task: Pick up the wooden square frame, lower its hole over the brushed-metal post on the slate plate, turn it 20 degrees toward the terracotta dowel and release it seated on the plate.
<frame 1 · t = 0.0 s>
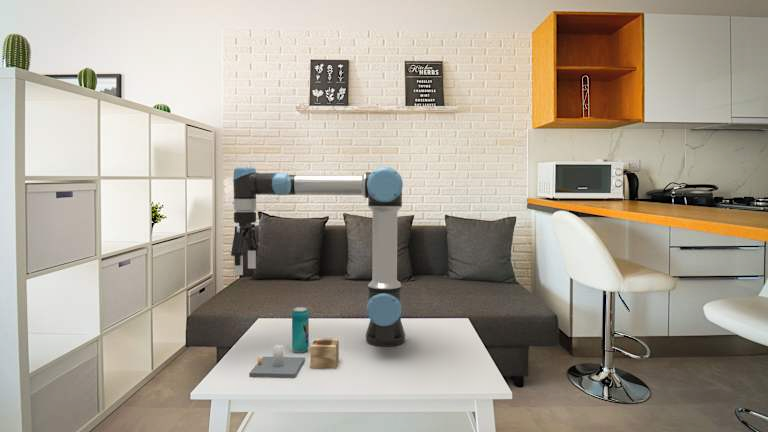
hand: (245, 271, 160), 28 cm above the table, fingers open, 13 cm apart
wooden square frame: (324, 363, 148), on the table
beverage can: (300, 351, 160), on the table
post base: (278, 368, 144), on the table
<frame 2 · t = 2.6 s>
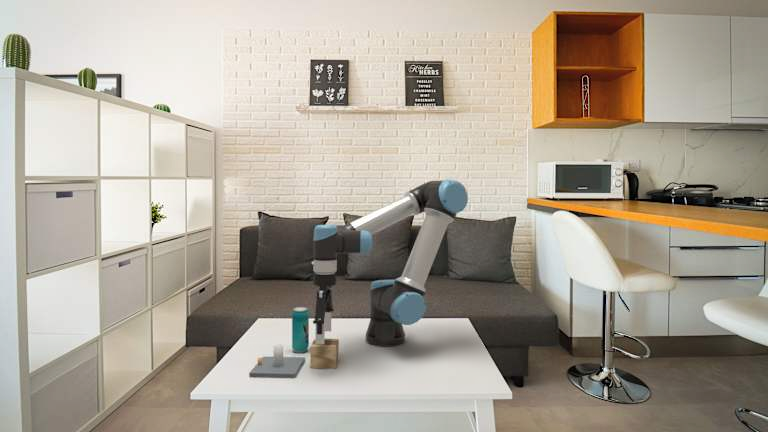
hand: (323, 337, 148), 9 cm above the table, fingers open, 13 cm apart
nothing on the table moved.
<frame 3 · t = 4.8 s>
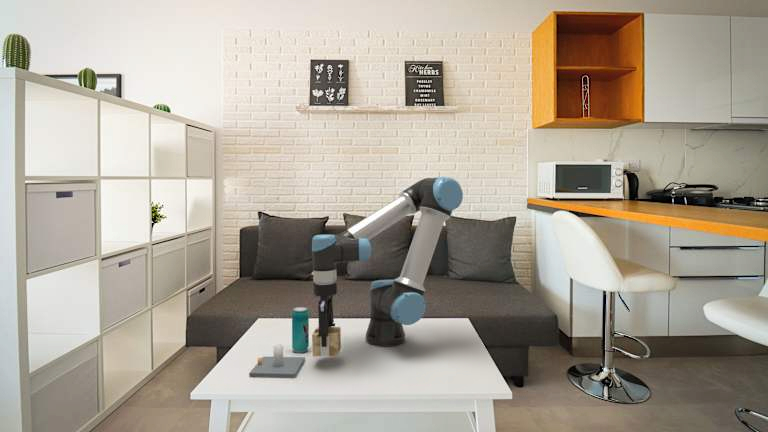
hand: (327, 350, 148), 4 cm above the table, fingers closed on wooden square frame, 8 cm apart
wooden square frame: (327, 351, 148), point 4 cm above the table, touching gripper
everything else where it was.
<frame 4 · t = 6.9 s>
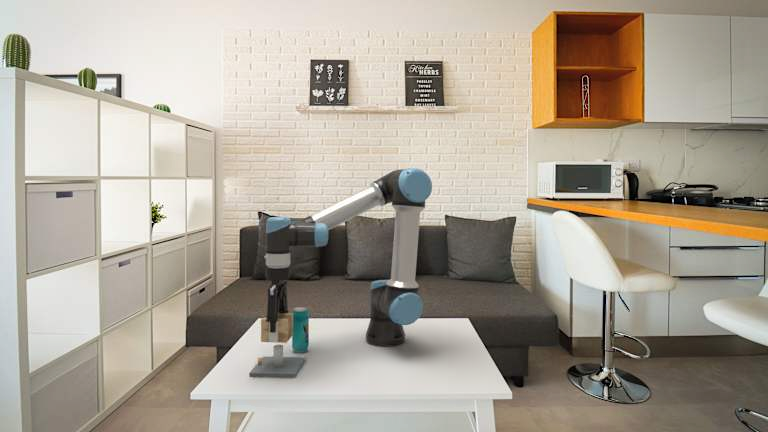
hand: (277, 337, 143), 10 cm above the table, fingers closed on wooden square frame, 8 cm apart
wooden square frame: (277, 338, 143), point 10 cm above the table, touching gripper
everything else where it was.
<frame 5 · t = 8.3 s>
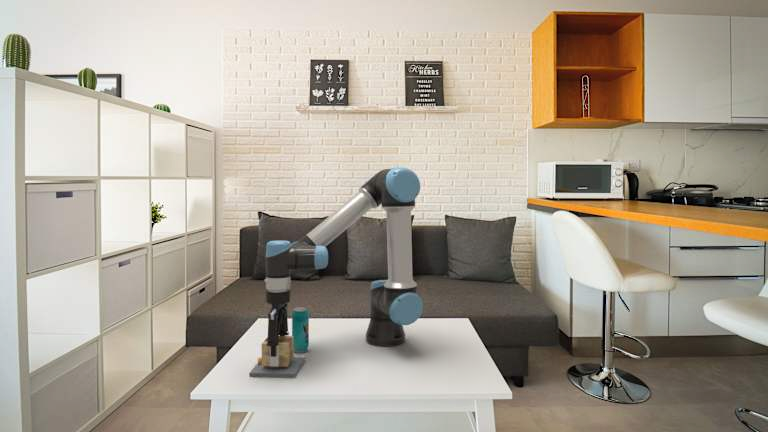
hand: (278, 360, 144), 3 cm above the table, fingers closed on wooden square frame, 8 cm apart
wooden square frame: (277, 361, 144), point 2 cm above the table, touching gripper
everything else where it was.
when the fingers open (2 cm above the table, at t = 9.2 s): wooden square frame stays where it is, resting on post base.
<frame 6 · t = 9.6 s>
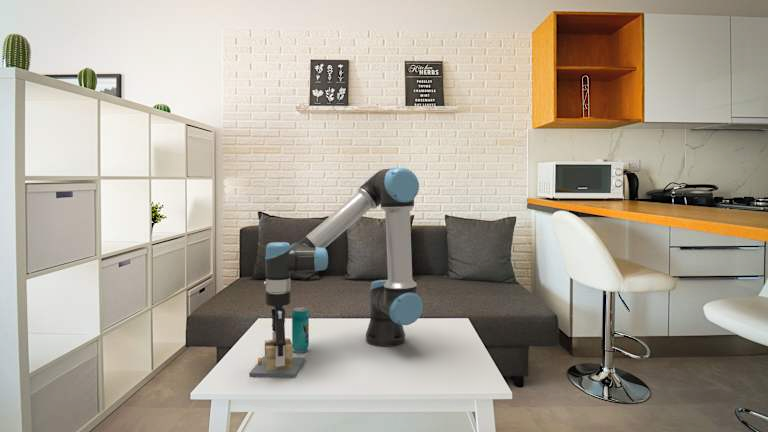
hand: (278, 358, 144), 3 cm above the table, fingers open, 13 cm apart
wooden square frame: (278, 364, 144), point 1 cm above the table, touching post base
everything else where it was.
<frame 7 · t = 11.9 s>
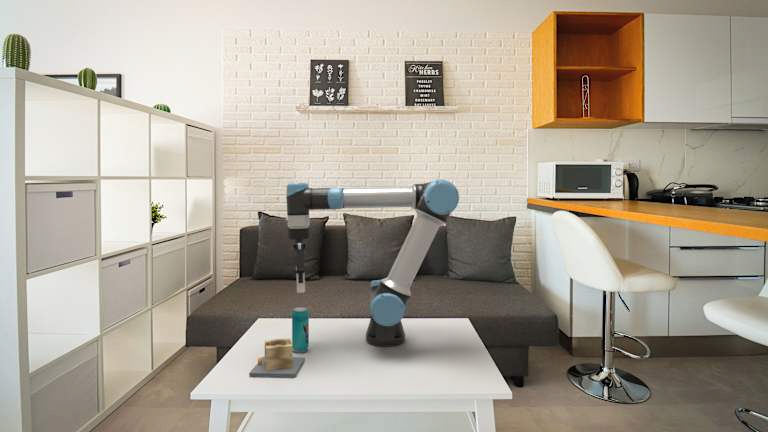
hand: (300, 288, 157), 23 cm above the table, fingers open, 13 cm apart
nothing on the table moved.
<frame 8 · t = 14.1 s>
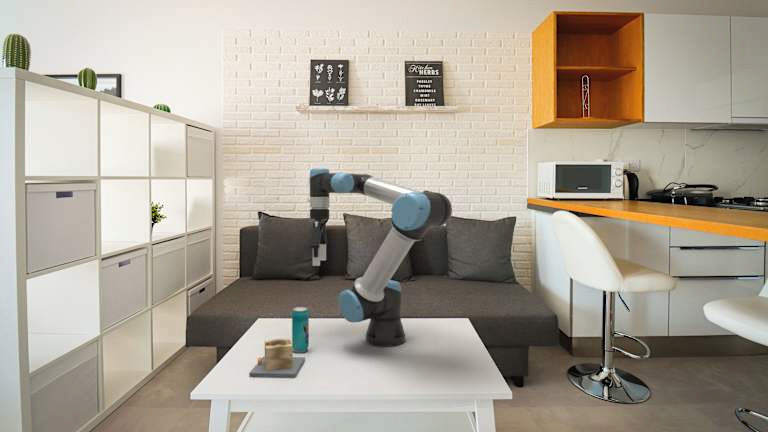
hand: (319, 263, 176), 29 cm above the table, fingers open, 13 cm apart
nothing on the table moved.
at the end: wooden square frame 0.0 cm off-centre on the post base, point 1.2 cm above the post base's base; wooden square frame tilted 0°; the gripper is holding nothing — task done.
